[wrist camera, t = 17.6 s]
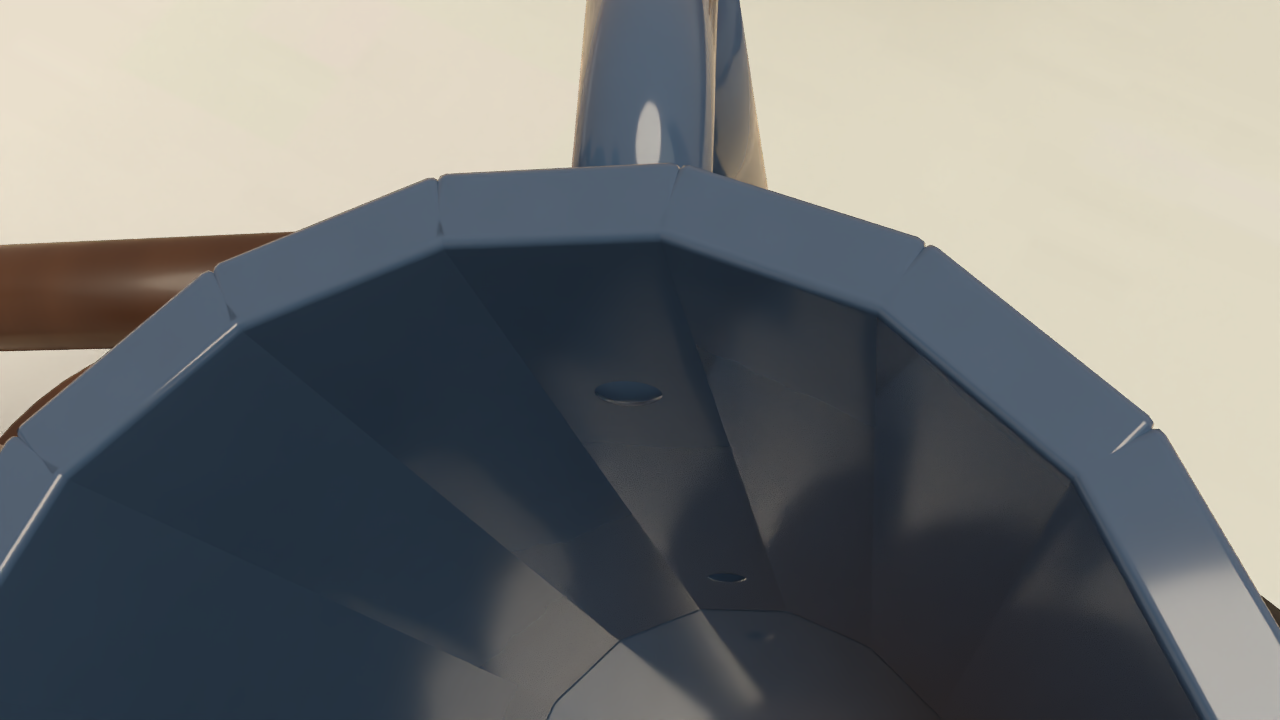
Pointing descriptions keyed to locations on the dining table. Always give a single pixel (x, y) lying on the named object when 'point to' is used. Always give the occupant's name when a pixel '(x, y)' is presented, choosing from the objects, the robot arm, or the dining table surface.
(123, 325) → the mug tree
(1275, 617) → the robot arm
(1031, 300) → the dining table surface
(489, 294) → the mug
